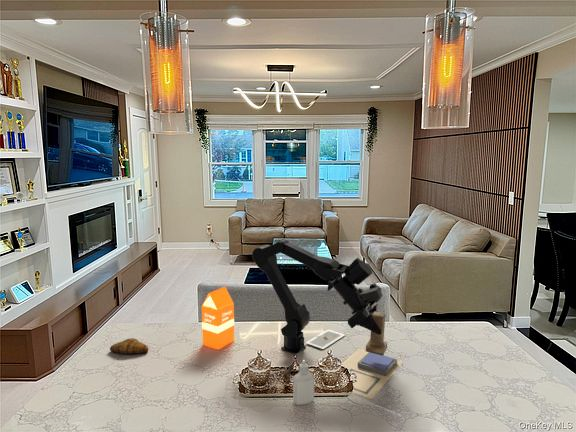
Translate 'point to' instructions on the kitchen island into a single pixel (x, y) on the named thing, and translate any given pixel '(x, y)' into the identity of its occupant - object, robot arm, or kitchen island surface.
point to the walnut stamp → (377, 336)
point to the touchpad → (325, 339)
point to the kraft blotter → (366, 375)
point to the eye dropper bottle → (303, 385)
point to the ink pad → (377, 363)
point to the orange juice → (218, 319)
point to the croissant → (129, 347)
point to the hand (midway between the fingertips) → (382, 331)
